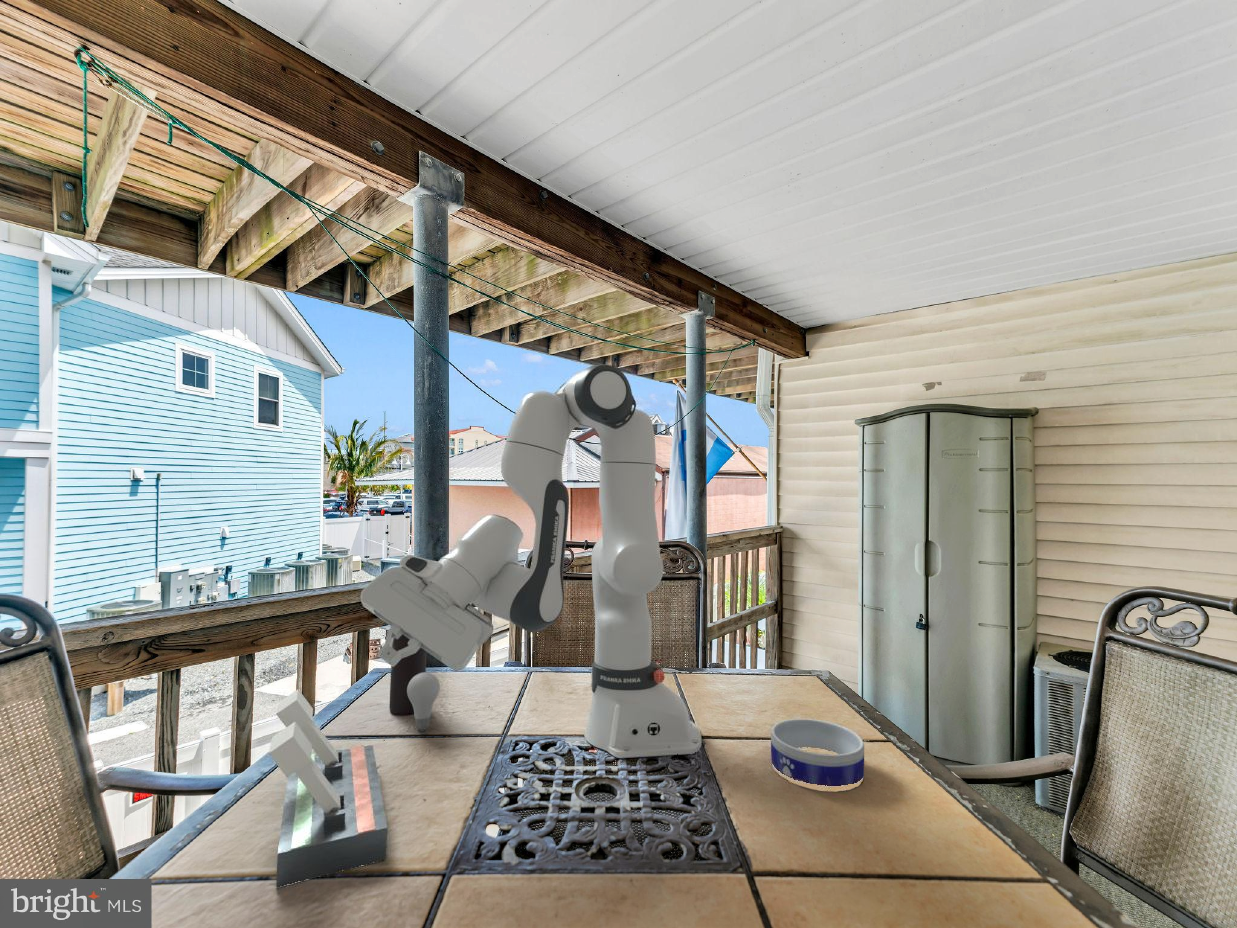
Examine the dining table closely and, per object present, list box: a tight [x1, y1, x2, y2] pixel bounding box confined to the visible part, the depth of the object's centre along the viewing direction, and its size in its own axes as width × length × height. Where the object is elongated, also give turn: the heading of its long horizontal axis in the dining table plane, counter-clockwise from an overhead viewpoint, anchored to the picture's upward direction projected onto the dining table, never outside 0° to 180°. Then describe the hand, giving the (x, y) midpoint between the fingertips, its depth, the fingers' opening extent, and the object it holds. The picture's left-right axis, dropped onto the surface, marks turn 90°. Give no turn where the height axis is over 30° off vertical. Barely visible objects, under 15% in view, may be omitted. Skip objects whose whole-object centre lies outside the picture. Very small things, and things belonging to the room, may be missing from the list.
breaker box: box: [275, 744, 388, 888], centre depth 81 cm, size 12×26×5 cm, turn 27°
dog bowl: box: [770, 718, 865, 786], centre depth 98 cm, size 15×15×6 cm
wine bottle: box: [388, 634, 427, 716], centre depth 122 cm, size 7×7×30 cm
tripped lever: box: [275, 689, 339, 765], centre depth 86 cm, size 3×5×13 cm
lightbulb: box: [407, 671, 441, 731], centre depth 111 cm, size 6×6×11 cm
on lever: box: [268, 722, 340, 813], centre depth 74 cm, size 3×5×13 cm
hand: (385, 660), depth 84 cm, fingers closed
